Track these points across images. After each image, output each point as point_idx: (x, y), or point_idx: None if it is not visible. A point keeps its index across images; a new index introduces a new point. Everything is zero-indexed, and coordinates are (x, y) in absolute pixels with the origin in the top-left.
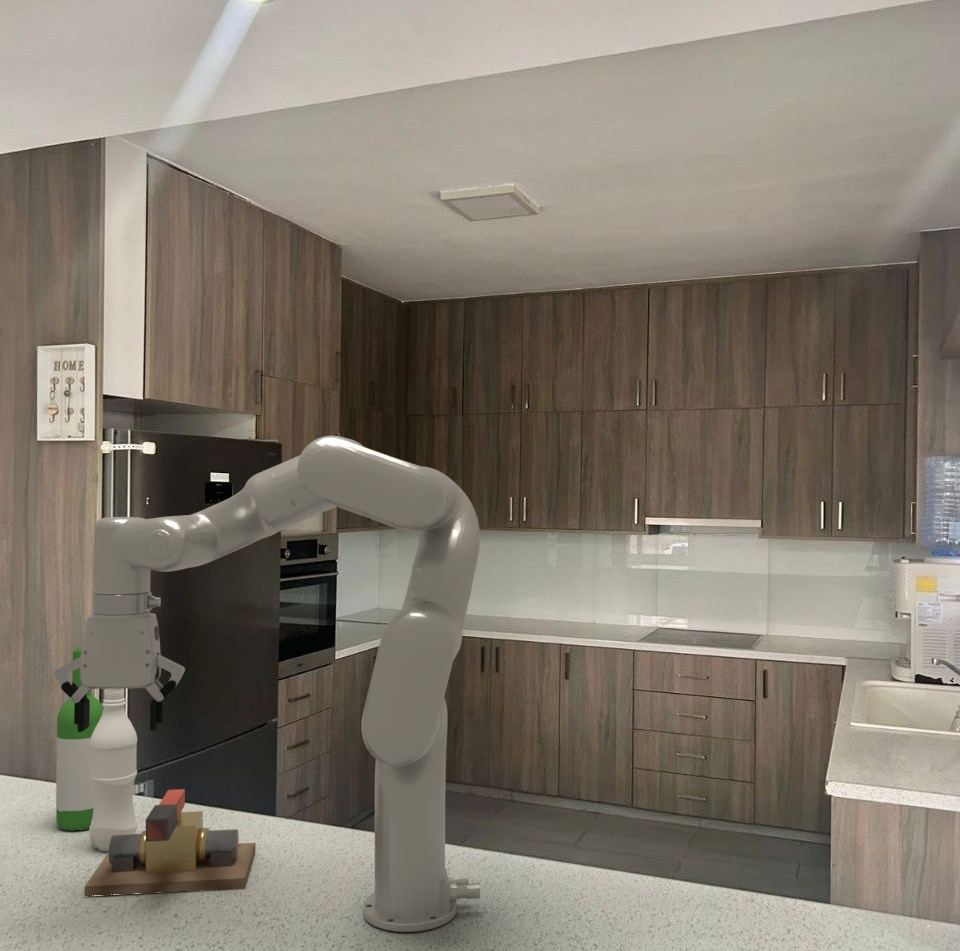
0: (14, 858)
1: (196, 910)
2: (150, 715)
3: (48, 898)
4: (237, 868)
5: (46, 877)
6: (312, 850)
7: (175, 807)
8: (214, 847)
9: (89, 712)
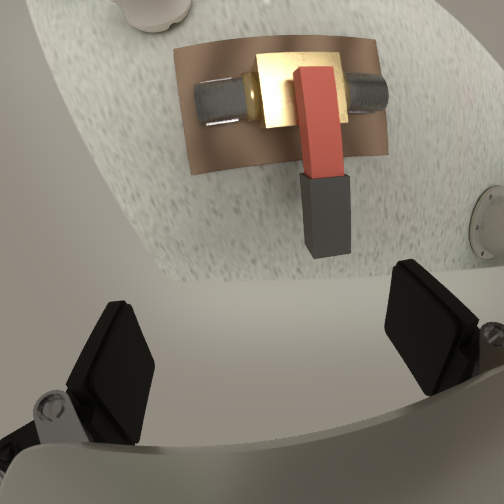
0: (58, 72)
1: None
2: (406, 363)
3: (150, 177)
4: (375, 123)
5: (117, 117)
6: (427, 54)
7: (349, 189)
8: (356, 110)
9: (113, 339)
